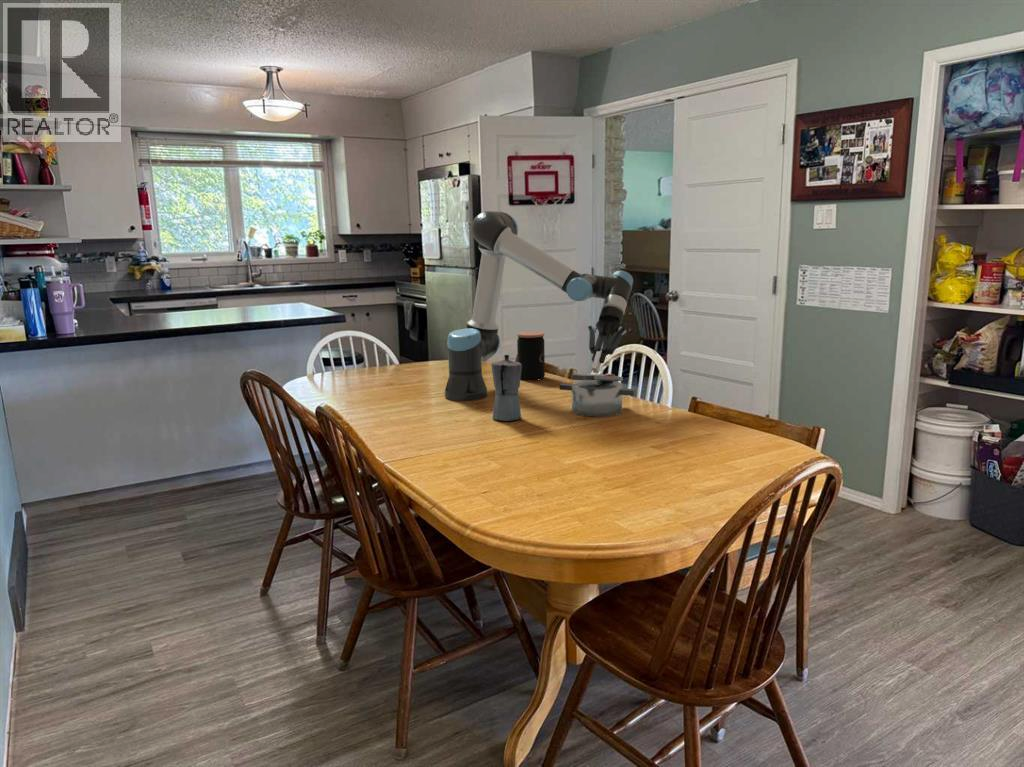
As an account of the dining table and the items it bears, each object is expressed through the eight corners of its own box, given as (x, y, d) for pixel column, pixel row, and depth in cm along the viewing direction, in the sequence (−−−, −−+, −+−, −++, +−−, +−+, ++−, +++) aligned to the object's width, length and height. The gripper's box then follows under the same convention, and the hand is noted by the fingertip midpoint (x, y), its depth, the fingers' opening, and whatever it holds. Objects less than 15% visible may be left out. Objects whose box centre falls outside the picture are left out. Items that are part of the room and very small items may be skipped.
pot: (551, 412, 222) (550, 386, 220) (572, 400, 237) (572, 375, 236) (626, 420, 210) (626, 393, 208) (644, 407, 226) (644, 381, 224)
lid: (552, 378, 209) (553, 371, 209) (584, 377, 233) (584, 371, 233) (602, 382, 202) (603, 375, 202) (630, 381, 225) (630, 375, 225)
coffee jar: (545, 380, 270) (544, 335, 267) (517, 381, 271) (516, 335, 267) (544, 375, 281) (543, 331, 277) (518, 375, 281) (517, 331, 277)
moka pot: (524, 412, 222) (523, 351, 218) (520, 425, 207) (519, 359, 203) (495, 412, 223) (493, 351, 219) (489, 425, 208) (487, 360, 204)
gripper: (634, 319, 229) (617, 378, 218) (596, 318, 235) (578, 375, 224) (629, 305, 224) (611, 365, 213) (591, 304, 229) (572, 362, 218)
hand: (594, 370), depth 218 cm, fingers closed
